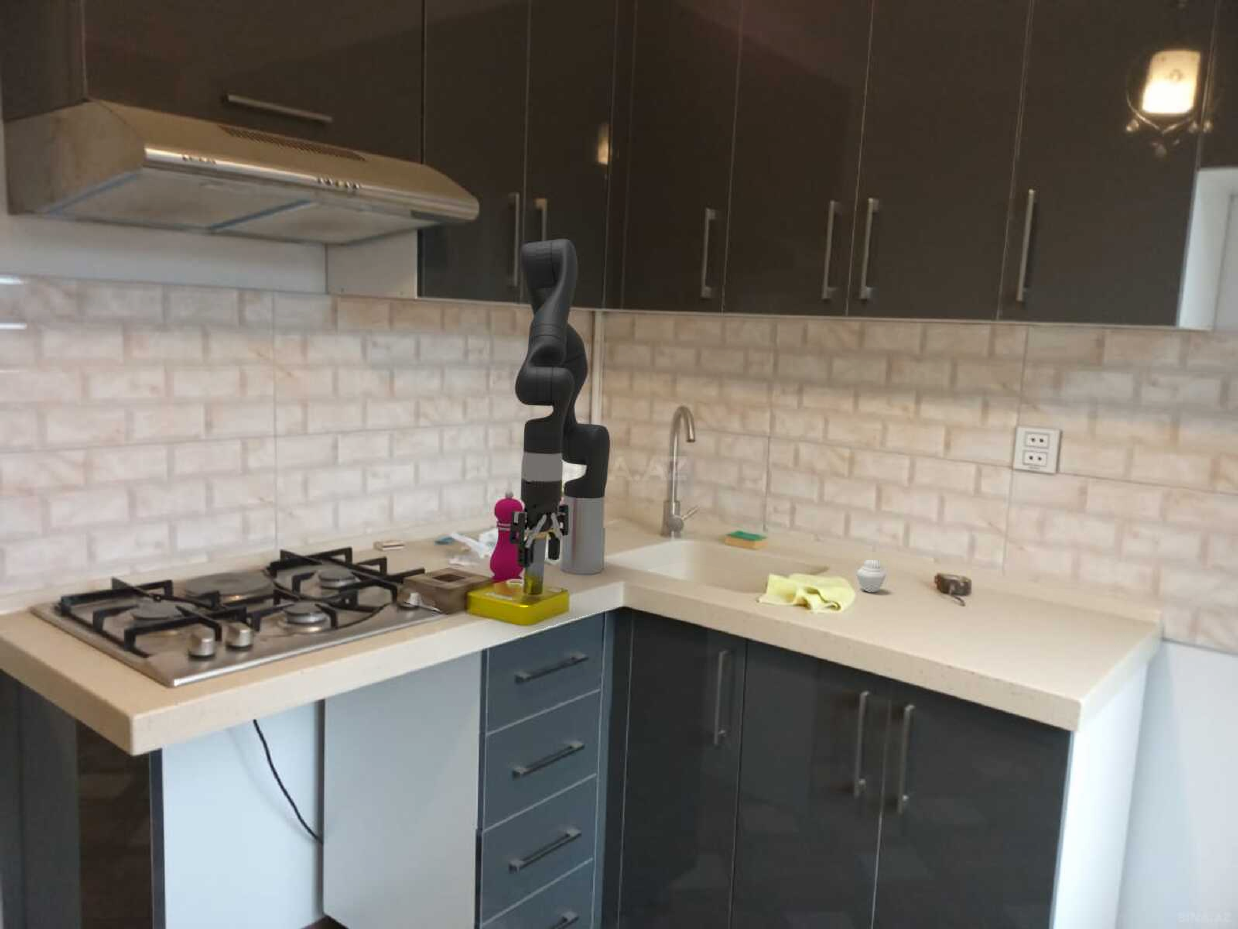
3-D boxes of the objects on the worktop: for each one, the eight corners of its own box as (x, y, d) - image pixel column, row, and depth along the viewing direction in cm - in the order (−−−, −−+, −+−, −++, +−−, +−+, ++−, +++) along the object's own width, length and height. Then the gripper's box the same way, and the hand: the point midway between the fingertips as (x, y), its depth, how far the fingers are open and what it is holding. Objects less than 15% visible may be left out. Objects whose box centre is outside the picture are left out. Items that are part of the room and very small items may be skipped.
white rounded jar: (879, 587, 210) (881, 556, 209) (888, 594, 203) (891, 562, 203) (851, 586, 209) (854, 555, 208) (860, 593, 203) (862, 562, 202)
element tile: (461, 615, 176) (462, 590, 175) (510, 598, 189) (511, 575, 188) (526, 630, 168) (527, 604, 168) (573, 612, 181) (573, 588, 180)
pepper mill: (482, 586, 195) (484, 490, 193) (502, 579, 202) (504, 487, 199) (511, 591, 192) (514, 494, 190) (530, 584, 198) (533, 490, 196)
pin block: (448, 591, 190) (448, 567, 189) (492, 603, 183) (493, 577, 183) (403, 603, 180) (403, 578, 179) (448, 616, 173) (448, 589, 173)
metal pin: (531, 586, 178) (535, 526, 175) (546, 591, 176) (550, 530, 173) (519, 591, 175) (523, 530, 172) (534, 597, 173) (538, 534, 170)
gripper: (550, 471, 180) (547, 554, 182) (500, 477, 169) (497, 566, 171) (581, 475, 176) (578, 560, 178) (532, 482, 164) (529, 573, 166)
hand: (538, 563), depth 174 cm, fingers open, 8 cm apart
